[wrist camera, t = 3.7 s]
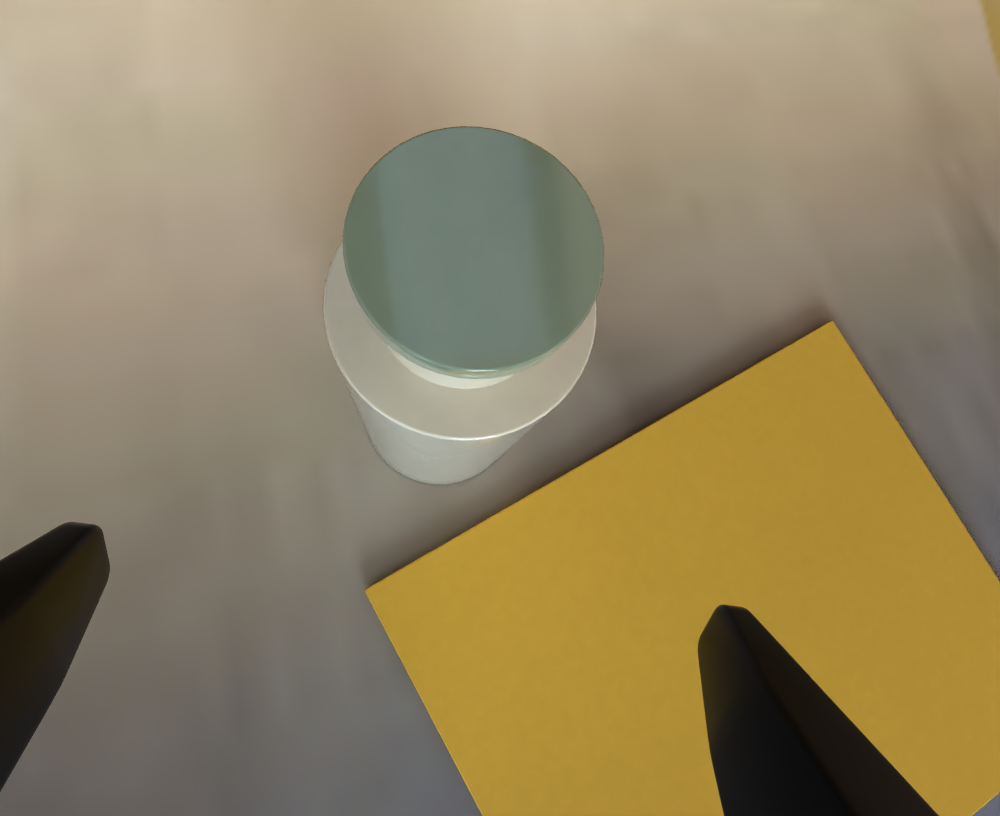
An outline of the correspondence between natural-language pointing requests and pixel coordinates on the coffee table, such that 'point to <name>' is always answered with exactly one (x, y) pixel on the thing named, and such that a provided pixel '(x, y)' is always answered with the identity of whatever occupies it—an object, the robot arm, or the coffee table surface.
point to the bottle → (462, 297)
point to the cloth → (709, 602)
